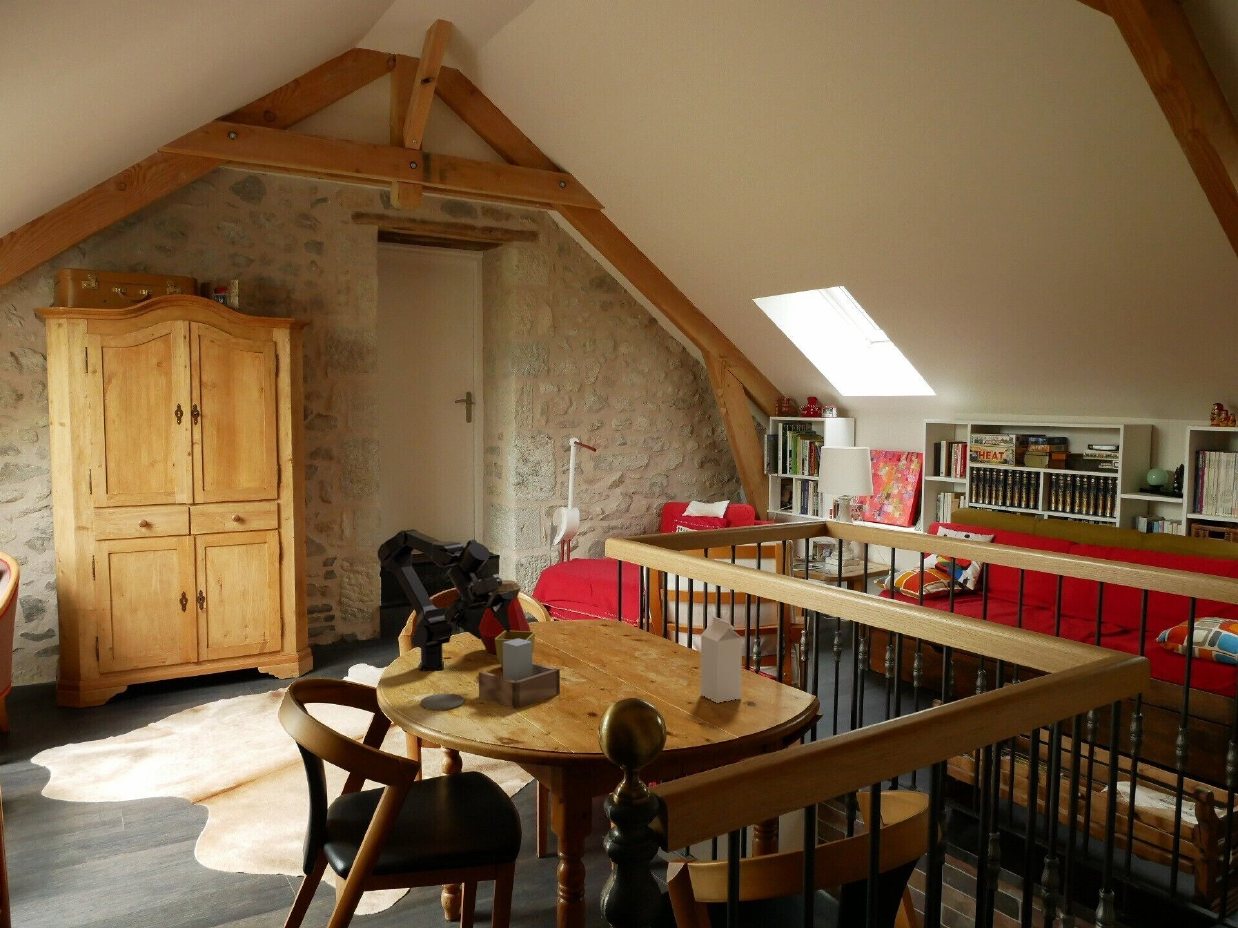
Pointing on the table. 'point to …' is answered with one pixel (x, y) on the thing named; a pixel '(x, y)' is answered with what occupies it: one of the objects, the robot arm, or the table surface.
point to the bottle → (515, 612)
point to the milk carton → (721, 662)
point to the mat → (442, 701)
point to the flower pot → (511, 636)
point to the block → (517, 659)
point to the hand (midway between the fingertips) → (495, 634)
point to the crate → (520, 687)
